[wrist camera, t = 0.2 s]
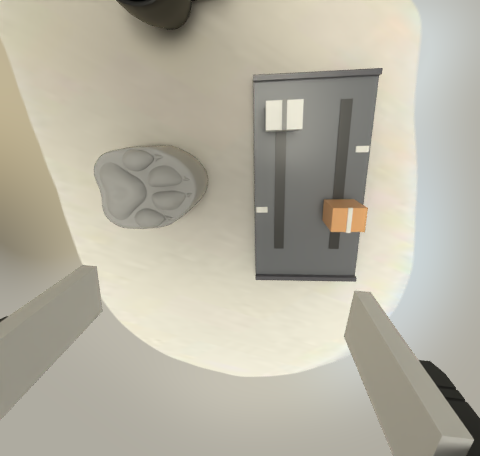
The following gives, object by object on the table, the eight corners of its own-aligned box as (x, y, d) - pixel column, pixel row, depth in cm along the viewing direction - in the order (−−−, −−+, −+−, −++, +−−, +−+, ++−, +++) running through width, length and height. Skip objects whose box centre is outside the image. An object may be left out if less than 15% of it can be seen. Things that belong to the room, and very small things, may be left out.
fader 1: (265, 105, 33) (266, 99, 28) (297, 104, 33) (304, 98, 28) (265, 132, 34) (265, 130, 29) (296, 131, 34) (302, 129, 29)
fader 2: (323, 199, 36) (333, 208, 31) (353, 198, 36) (368, 208, 31) (322, 220, 37) (331, 232, 32) (351, 220, 37) (365, 233, 32)
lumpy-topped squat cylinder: (117, 149, 39) (79, 151, 31) (203, 141, 37) (186, 141, 29) (132, 216, 42) (101, 235, 34) (212, 211, 41) (199, 229, 32)
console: (254, 80, 34) (253, 74, 32) (373, 73, 33) (382, 68, 30) (256, 271, 43) (255, 279, 41) (350, 272, 42) (355, 281, 39)
